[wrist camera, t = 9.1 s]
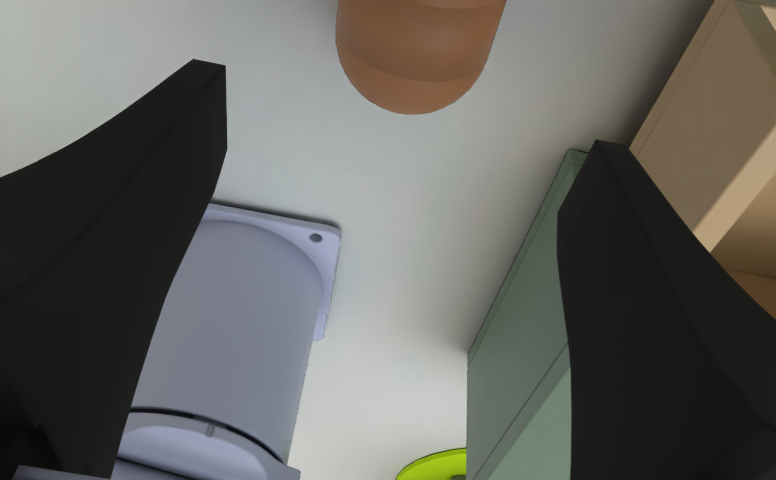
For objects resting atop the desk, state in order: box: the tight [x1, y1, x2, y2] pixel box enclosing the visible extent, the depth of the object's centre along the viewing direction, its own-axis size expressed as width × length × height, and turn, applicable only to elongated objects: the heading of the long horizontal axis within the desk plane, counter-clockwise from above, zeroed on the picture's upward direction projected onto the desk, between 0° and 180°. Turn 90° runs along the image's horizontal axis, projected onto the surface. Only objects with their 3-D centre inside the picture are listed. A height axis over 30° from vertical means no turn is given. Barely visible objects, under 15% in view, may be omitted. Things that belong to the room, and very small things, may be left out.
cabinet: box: [466, 150, 588, 480], centre depth 25 cm, size 14×12×8 cm
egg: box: [336, 0, 506, 114], centre depth 17 cm, size 6×4×4 cm
